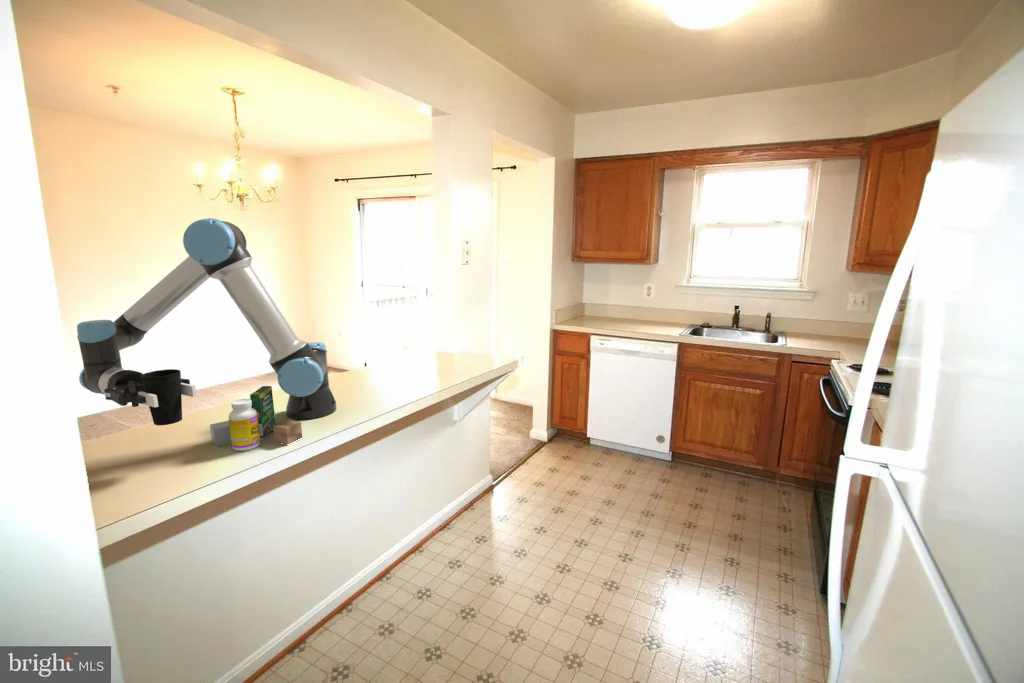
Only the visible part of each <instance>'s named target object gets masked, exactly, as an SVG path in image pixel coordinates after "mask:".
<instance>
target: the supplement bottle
mask: <svg viewBox="0 0 1024 683" xmlns="http://www.w3.org/2000/svg"><path fill="white" fill-rule="evenodd" d="M251 406H252V401H251V400H250V398H241V399H236V400H234V401H232V402H231V409H232V411H231V412H230V413H229V414H228V420H229V424H230V432H231V441H232V443H231V446H232V447H231V448H232V449H233V450H234V451H236V452H245V451H250V450H254V449H256V448H257V447H259V446H260V444H261V437H260V436H259V427H258V418H257V411H256V410H255V409H253V408H251Z"/></svg>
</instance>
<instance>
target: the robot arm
mask: <svg viewBox="0 0 1024 683" xmlns="http://www.w3.org/2000/svg"><path fill="white" fill-rule="evenodd" d="M182 244H183V247H184V250H185V252H186V253H187V254H188V256H187V257H186V258H185V259H183V260H182V262H180V264H178V265H177V266H176V267H175V268H174V269H173V270H171V271H170V272H169V273H168V274H167V275H166V276H164V277H163V278H162V279H161V280H160V281H159V282H158V283H156V284H155V285H154V286H153V287H152V288H151V289H150V290H148V291H147V292H146V293H145V294H144V295H143V296H142V297H141V298H139V299H138V300H137V301H136V302H134V304H133V305H131V306H130V307H128V308H127V309H126V310H125V311H124V312H123V313H122V314H121V315H120V316H118V317H117V319H115V320H114V321H112V320H111V319H97V320H96V319H95V320H87V321H85V320H84V321H81V322H79V323H78V324H77V325H76V330H77V331H76V332H77V336H76V338H77V340H78V344H79V349H80V353H81V354H80V355H81V359H82V365H83V369H82V370H81V371H80V373H79V378H78V379H79V383H80V385H81V386H82V387H83V388H84V389H85V390H88V391H90V392H91V393H95V394H99V395H104V397H105V400H106V401H107V400H108V401H112V402H114V403H116V404H117V405H120V406H121V407H122V406H123V407H125V406H128V405H129V404H128V403H131V407H133V408H137V407H139V404H140V405H144V406H148V407H149V406H151V407H158V400H157V395H154V394H150V393H146V392H145V391H144V387H143V384H142V380H141V375H142V374H143V373H142V372H140V371H137V370H132V369H127V368H123V366H122V359H121V353H120V351H121V350H124V349H126V348H129V347H132V346H136V345H137V344H138V343H140V342H141V341H142V340H143V339H144V337H145V335H146V334H147V333H148V332H149V331H150V330H151V329H152V328H154V326H156V325H157V324H158V323H159V322H160V321H162V320H163V319H164V318H165V317H167V315H169V313H171V312H172V311H173V310H174V309H175V308H176V307H178V305H180V304H181V303H182V302H183V301H184V300H186V298H188V297H189V296H191V294H192V293H193V292H195V291H196V290H197V289H198V288H199V287H200V286H202V285H203V284H204V283H205V282H206V281H207V280H209V278H211V279H214V280H218V281H220V283H221V285H222V286H223V288H224V289H225V290H226V292H227V294H228V295H229V296H230V298H231V300H233V302H234V304H235V305H236V306H237V308H238V309H239V311H240V312H241V313H242V315H243V317H244V318H245V319H246V321H247V323H248V324H249V325H250V327H251V328H252V330H253V331H254V333H255V334H256V336H257V337H258V338H259V340H260V342H261V343H262V344H263V346H264V347H265V349H266V350H267V352H268V354H269V355H270V357H269V360H268V363H269V365H270V366H271V367H272V369H273V371H274V372H275V374H276V375H277V383H278V386H279V387H280V389H281V390H282V391H283V392H284V393H285V394H287V395H289V396H288V399H287V400H288V401H287V404H286V416H287V417H288V418H289V419H290V418H291V419H293V420H309V418H311V419H316V417H318V418H322V417H325V415H326V416H328V415H331V414H333V413H334V412H336V410H337V402H336V399H335V397H334V395H333V392H332V390H331V388H330V382H329V371H328V370H329V369H328V360H327V359H328V358H327V356H328V355H327V353H328V351H327V347H326V345H325V343H324V342H314V341H313V342H308V341H305V340H301V339H299V338H298V336H297V334H296V333H295V332H294V330H293V328H292V327H291V325H290V324H289V323H288V320H287V319H286V318H285V316H284V315H283V313H282V312H281V311H280V308H279V307H278V306H277V304H276V303H275V301H274V300H273V298H272V296H271V295H270V294H269V292H268V291H267V289H266V287H265V285H264V284H263V283H262V280H260V278H259V276H258V275H257V273H256V272H255V270H254V269H253V267H252V265H251V264H252V261H253V257H252V256H251V254H250V252H249V251H248V249H247V239H246V236H245V234H244V232H243V231H242V230H241V228H240V227H238V226H237V225H235V224H233V223H231V222H229V221H225V220H220V219H217V218H213V217H212V218H202V219H197V220H195V221H193V222H192V223H191V224H189V225H188V227H186V229H185V231H184V233H183V236H182ZM181 396H187V397H190V398H195V397H197V390H196V385H194V384H191V381H190V379H189V378H181ZM330 413H331V414H330ZM321 416H322V417H321Z"/></svg>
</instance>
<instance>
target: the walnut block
mask: <svg viewBox="0 0 1024 683" xmlns="http://www.w3.org/2000/svg"><path fill="white" fill-rule="evenodd" d="M272 431H273V440H274V443H275V442H276V443H275V444H279V443H283V444H282V445H284V444H290V443H292V442H294V441H296V440H298V439H300V438H302V439H303V431H302V421H297V420H290V419H287V420H284V421H281V422H279V423H276V425H274V426H273V430H272ZM298 441H299V440H298ZM296 442H297V441H296ZM294 443H295V442H294ZM292 444H293V443H292ZM290 445H291V444H290Z"/></svg>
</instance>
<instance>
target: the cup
mask: <svg viewBox="0 0 1024 683" xmlns="http://www.w3.org/2000/svg"><path fill="white" fill-rule="evenodd" d="M181 374H182V373H181V370H180V369H174V368H173V369H172V368H171V369H160V370H159V369H158V370H154V371H153V370H152V371H149V372H146V373H142V375H141V380H142V384H143V387H144V391H145V392H146V393H150V394H154V395H157V400H158V407H151V406H148V408H149V411H150V415H151V418H152V422H153V425H155V426H169V425H172V424H176V423H179V422H181V421H182V420H183V407H182V406H183V404H182V403H183V402H182V400H183V399H182V394H181V379H182V375H181Z"/></svg>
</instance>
